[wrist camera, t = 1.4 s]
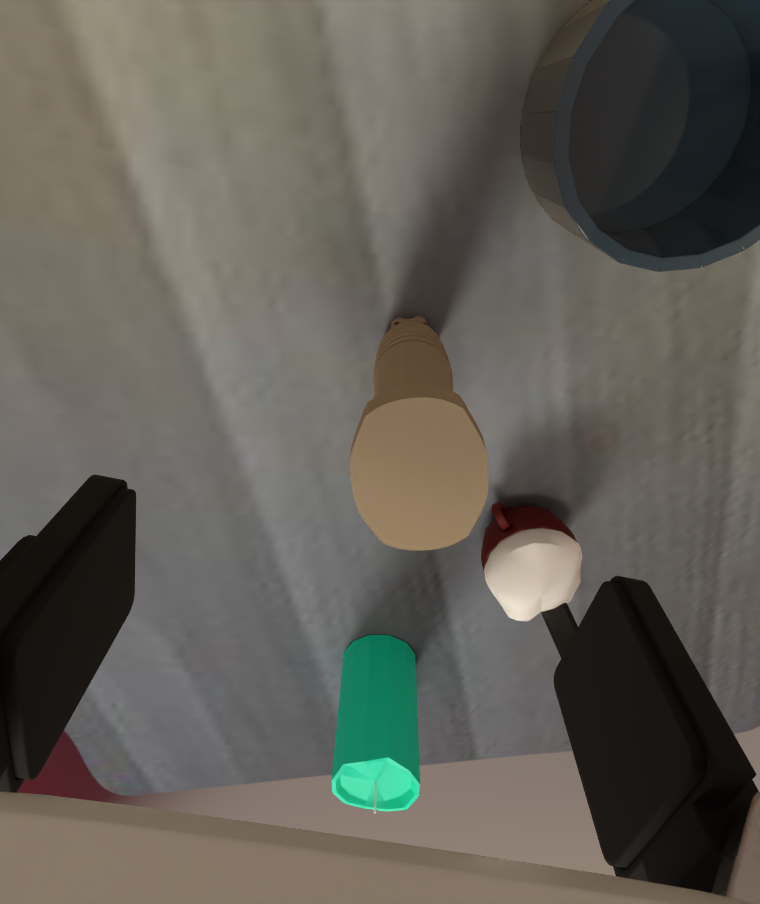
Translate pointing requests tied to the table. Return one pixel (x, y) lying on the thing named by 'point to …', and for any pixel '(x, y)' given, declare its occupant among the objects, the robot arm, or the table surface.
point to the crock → (650, 130)
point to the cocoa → (533, 567)
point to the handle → (417, 446)
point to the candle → (377, 726)
